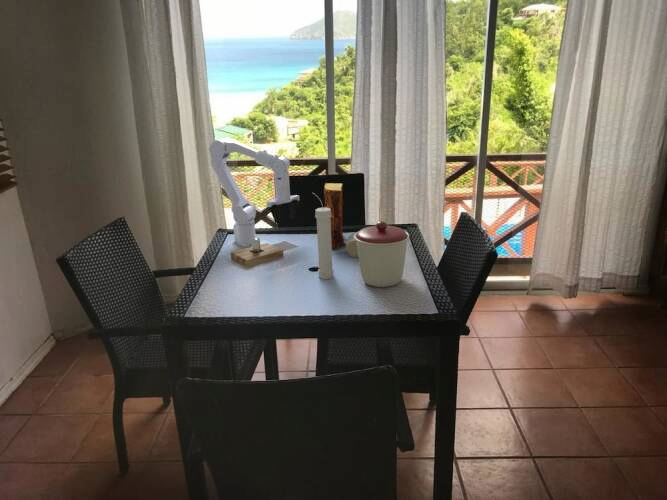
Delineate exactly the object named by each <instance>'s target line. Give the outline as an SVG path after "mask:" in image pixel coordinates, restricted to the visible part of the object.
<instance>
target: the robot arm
mask: <svg viewBox="0 0 667 500" xmlns="http://www.w3.org/2000/svg"><path fill="white" fill-rule="evenodd" d="M208 151H209V154H210V164H211V167H212V168H213V170H214V172H215V174H216V176H217V178H218V180H219V182H220V184H221V185H222V188H223V189H224V191H225V193H226V195H227V197H228V199H229V201H230V202H231V213H232V214H233V221H234V222H235V223H234V224H233V227H232V228H233V237H234V240H232V242H233V243H235V244H237V245H239V246H242V247H243V248H245V247H250V246H252V238H257V237H256V226H255V217H256V215H257V209H256V208H255V206H253V205H252V203H250V200H248V199H246V198H245V197H244V195H243V194H242V192H241V189H240V187H239V185H238V184H237V182H236V180H235V179H234V178H235V177H234V176H233V175H232V172H231V170H230V168H229V167H228V165H227V161H228V158H229V156H230V155H231V154H232V153H238V154H240V155H243V156H246V157H249V158H251V159H254V160H255V162H256V164H259V165H261V166H264V167H266V168H269V169H270V170H271V171H272V172H273V173H274V189H275V190H274V191H275V192H274V193H275V198H273V199H271V200H267V201H266V207H267V208H268V210H269V212H270V213H271V215H272V218H273V221H274V224H279V223H280V218H279V215H280V205H282V204H287V207H288V211H289V219H291V220H295V217H296V214H297V210H298V207H299V205H300V195H297V194H295V195H291V190H290V189H291V188H290V175H289V169H290V166H291V161H290V159H289V158H288V157H286V156H285V155H280V156H279V154H278V153H272V152H270V151H268V149H266V148H264V149H259V150H257V149H254V148H253V147H250V146H249V145H246V144H244V143H242V142H240V141H239V140H237V139H235V138H230V137H228V136H224V137H222V138H220V139H219V138H218V139H215V140H212V142H211V143H210V145H209V147H208ZM278 205H279V206H278Z"/></svg>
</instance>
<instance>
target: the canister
mask: <svg viewBox="0 0 667 500" xmlns="http://www.w3.org/2000/svg"><path fill="white" fill-rule="evenodd" d="M354 233H355V235H354V238H355V240H356V242H357V250H358V257H357V258H358V262H359V269H360V276H361V278H362V280H363V282H364V283H365V284H367V285H369V286H371V287H376V288H389V287H393V286H395V285H397V284H399V283H400V282H401V281H402V278H403V275H404V267H405V262H406V253H407V246H408V245H407V244H408V240H409V238H410V233H409V232H408V231H406V230H404V229H402V228H401V227H397V226H395V225H393V226H392V225H388V224H387V223H386V222H385V221H384V220H383V221H382V220H381V221H378V222H377V223H376V224H375V225H372V226H367V227H364V228H361V229H359V231H357V232H354Z"/></svg>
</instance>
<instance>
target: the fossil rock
mask: <svg viewBox="0 0 667 500" xmlns="http://www.w3.org/2000/svg"><path fill="white" fill-rule="evenodd" d="M323 194H324V195H323V196H324V208H330V209H331V215H332V217H331V218H330V220H331V244H332V250H337V249H339V248H342V247H345V246H346V242H345V237H344V232H343V204H344V200H343V183H333V182H331V183H328V182H325V183H324V189H323Z"/></svg>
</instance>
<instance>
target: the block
mask: <svg viewBox="0 0 667 500" xmlns="http://www.w3.org/2000/svg"><path fill="white" fill-rule="evenodd" d="M260 248H261V252H260V253H256V254H254V253H253V247H252V246H248V247H246V248H245V247H244V248H242V249H238V250H234V251H231V252H230V258H231V261H234V262H235V263H237V264H238V265H242V266H243V267H245V268H247V269H248V268H252V267H253V266H256V265H259V264H261V263H265V262H269V261H272V260H276V259H279V258H283V257H284V251H283V250H282V249H280V248H277V247H275V246H272V244H270V243H267V242H263V243H260Z"/></svg>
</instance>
